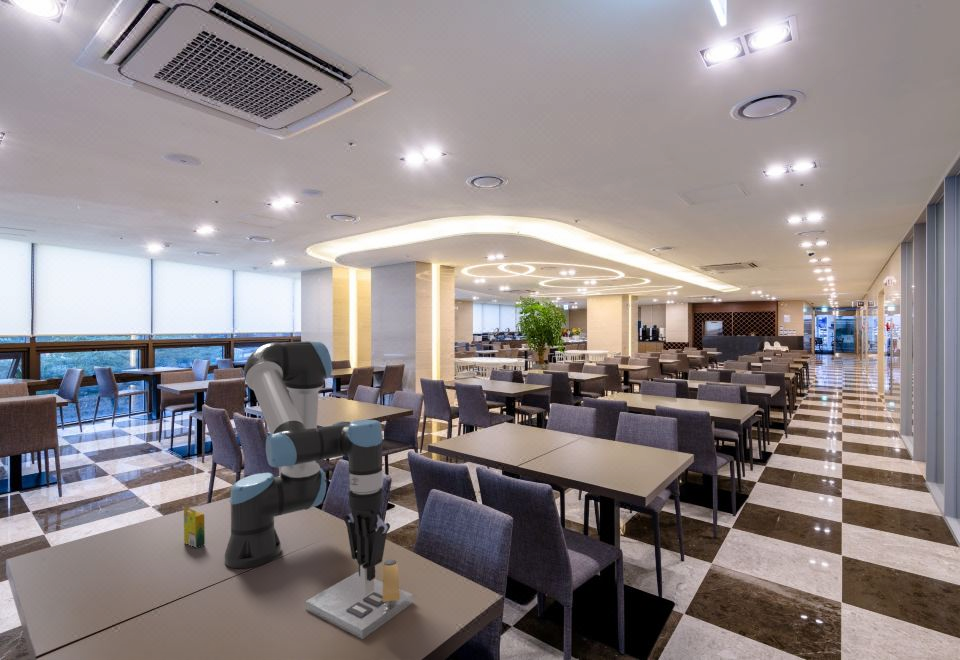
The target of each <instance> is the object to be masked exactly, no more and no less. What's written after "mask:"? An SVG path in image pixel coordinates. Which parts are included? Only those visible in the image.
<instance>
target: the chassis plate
mask: <svg viewBox="0 0 960 660" xmlns="http://www.w3.org/2000/svg"><path fill="white" fill-rule="evenodd" d="M373 592H375V593H378V594H380V595H382V596H383V581H381V580H378V579H376V578H374V591H372V592H371V593H369V594H368V595H370V594H372V593H373ZM368 595H366V596H364V595H361V594H360V577H359V571H357V572H355V573H353V574H351V575H349V576H347V577H346V578H344V579H342V580H340V581H339V582H337V583H335V584H334V585H331V586H330V587H328V588H326V589H324V590H322V591H321V592H319V593H317V594H316V595H314V596H312V597H310V598H308V599H307V600H305V603H304V604H305V610H306V611H307V612H309V613H312V614H313V615H315V616H317V617H320V619H323V620H324V621H327V622H329V623H331V624H332V625H334V626H336V627H338V628H340V629H342V630H344V631H346V632H348V633H350V634H351V635H353V636H356V637H357V638H359V639H361V640H364V639H365V638H366V637H368V636H369V635H370V634H372V633H373V632H375V631H376V630H377V629H379V628H380V627H382V625H385V623H387V622H388V621H390V620H391V619H393V618H394V617H395V616H396V615H398V614H400V613H401V612H402V611H404V610H405V609H406V608H408V607H409V606H410V605H412V604H413V603H414V600H413V599H414V597H413V596H414V595H413V593H410V592H408V591H406V590H403V589H400V588H399V600H394V601H387V602H384V603H382V604H381V605H380V606H378V607H377V606H375V605H373V604H370V603H368V602H366V601H364V600H363V599H364V598H365V597H367V596H368ZM357 602H359V603H361V604H364V605H366V606H368V607H370V608H372V609H373V610H372V611H371V612H369V613H368V614H366V615H365V616H363V617H362V618H360V617H358V616H356V615H354V614H352V613H350V612H348V611H346V609H348V608H349V607H351V606H353V605H354V604H356V603H357Z"/></svg>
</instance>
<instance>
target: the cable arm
mask: <svg viewBox="0 0 960 660" xmlns="http://www.w3.org/2000/svg"><path fill="white" fill-rule="evenodd" d="M383 564H384V565H383ZM383 564H382V582H383V602H387V601H394V600H399V589H400V580H399V579H400V578H399V565H398V563H397V560H396V559H388V560H386V561H384V563H383Z"/></svg>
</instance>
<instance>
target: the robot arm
mask: <svg viewBox="0 0 960 660" xmlns="http://www.w3.org/2000/svg"><path fill="white" fill-rule="evenodd" d="M332 363H333V362H332V358H331V354H330V351H329V349H328V348H327V346H326V344H324V343H323V342H320V341H310V340H309V341H307V340H305V341H289V342H288V341H287V342H278V341H277V342H269V343H266V344H263V345H261V346H260V347H258V348H257V349H255V350H254V351H253V352H252V353H251V354H250V355H249V356H248V358H247V360H246V362H245V365H244V368H243V377H244V378H243V379H244V380H245V383H246V385H247V387H248V388H249V390H250V389H251V390H252V391H253V392H254V395H255V397H256V399H257V403H258V405H259V408H260V410H261V413H262V415H263V418H264V420H265V423H266V425H267V426H266V427H267V428H268V431H269V433H270V434H269V435H268V436H267V438H266V440H265V454H266V460H267V463H268V465H269V466H270V467H272V468H280V475H278V476H275V475H273V473H271V472H263V473H262V472H260V473H254V474H251V475H249V476H245V477H243V478H241V479H239V480H238V481H236V482H235V483H234V484H233V485H232V486H231V488H230V499H229V504H230V537H229V540H228V541H227V542H228V543H227V546H226V549H225V552H224V565H226V566H227V567H228V568H232V569H248V568H254V567H257V566H261V565H264V564H266V563H269V562H270V561H273V560H274V559H276V558H277V557H278V556H279V555H280V553H281V551H282V550H281V549H282V548H281V547H282V545H281V544H282V543H281V541H280V538H279V536H278V532H277V530H276V527H275V517H278V516H282V515H287V514H292V513H296V512H300V511H303V510H308V509H311V508H315V507H318V506H319V505H320V504H321V503H322V502H323V500H324V498H325V495H326V492H327V491H326V490H327V482H326V479H327V478H326V473H325V471H324V470H323V469H322V468H321V467H320V464H319V463H318V462H316V461H323V460H327V459H328V460H329V459H333V458H338V457H346V458H348V489H349V490H350V491H349V492H348V506H349V509H350V511H351V512H350V513H349V514H346V515H344V516H343V520H344V523H345V525H346V529H347V536H348V541H349V548H350V553H351V554H350V555H351V558H352V559H353V560H356V562H357V564H358V572H359V577H360V594H361V595H364V596H366V595H368V594H369V593H371V592H372V591H374V579H376V566H377V565H379V564H380V563H381V564H382V562H383V558H384V554H385V553H384V551H385V545H386V539H387V534H388V532H389V530H390V527H391V525H390V524H391V523H388V522H387V523H386V522H384V520H383V519H382V518H383V516H382V512H381V508H382V506H383V503H384V495H383V494H384V493H383V492H384V491H383V486H384V481H383V480H384V479H383V478H384V477H383V439H384V436H383V431H382V430H383V429H382V424H381V422H380V421H379V420H377V419H376V420H375V419H360V420H359V419H358V420H354V421H352V422H350V421H345V420H342V421H338V422H335V423H334V424H332V425H329V426H320V427H318V412H319V411H318V409H319V408H318V407H319V391H320V390H322V388H323V387H324V386H325V380H327V379H329V378H330V377H331V376H332V371H333V370H332V369H333V368H332V367H333V364H332Z"/></svg>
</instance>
